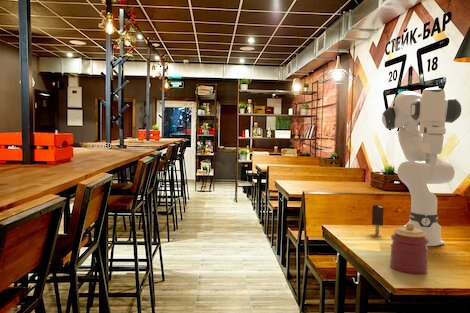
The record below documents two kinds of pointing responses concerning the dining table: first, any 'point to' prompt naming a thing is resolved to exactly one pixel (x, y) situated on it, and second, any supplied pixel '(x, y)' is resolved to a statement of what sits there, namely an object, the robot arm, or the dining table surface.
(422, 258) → the canister
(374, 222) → the ice cream bar
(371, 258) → the dining table surface
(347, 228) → the dining table surface
